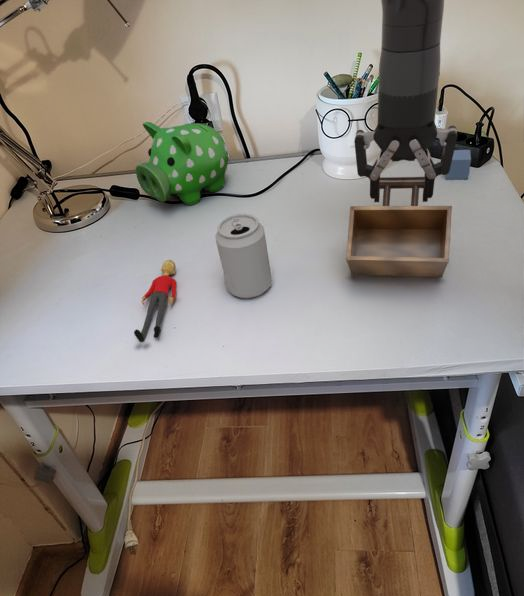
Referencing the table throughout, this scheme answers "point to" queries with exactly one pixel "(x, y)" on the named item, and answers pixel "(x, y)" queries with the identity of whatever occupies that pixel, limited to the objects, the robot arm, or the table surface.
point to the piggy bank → (183, 162)
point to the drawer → (399, 235)
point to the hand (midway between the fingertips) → (400, 199)
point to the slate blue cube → (459, 165)
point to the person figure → (158, 299)
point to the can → (244, 255)
